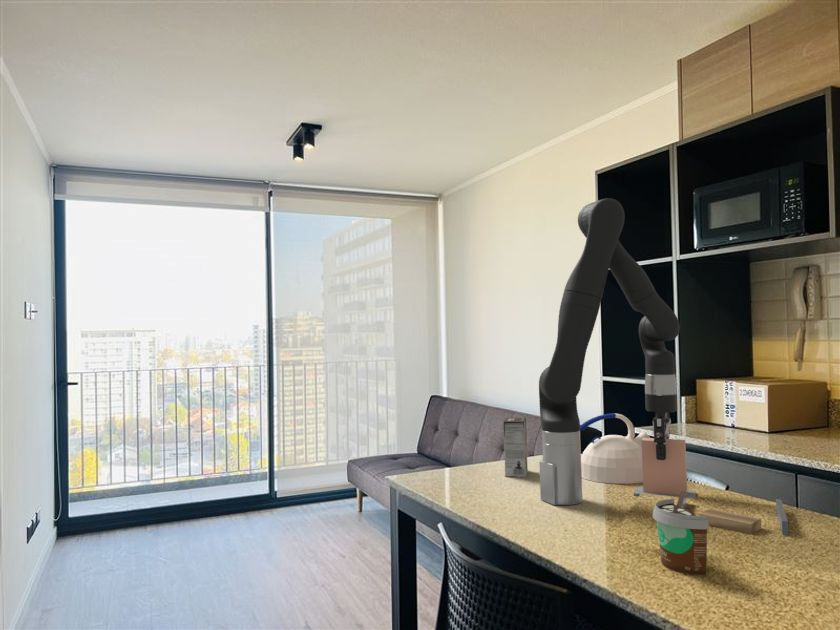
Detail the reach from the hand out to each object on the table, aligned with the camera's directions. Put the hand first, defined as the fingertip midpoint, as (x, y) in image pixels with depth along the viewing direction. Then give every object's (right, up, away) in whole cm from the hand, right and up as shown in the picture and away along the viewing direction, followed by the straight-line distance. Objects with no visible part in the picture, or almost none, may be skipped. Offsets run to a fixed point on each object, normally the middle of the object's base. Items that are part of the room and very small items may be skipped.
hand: (662, 456), depth 157 cm
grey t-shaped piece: (0, -9, -1) cm, 9 cm away
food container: (-17, -8, -49) cm, 52 cm away
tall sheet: (0, -9, -1) cm, 9 cm away
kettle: (-5, -11, +21) cm, 25 cm away
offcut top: (+1, -7, -32) cm, 32 cm away
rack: (+4, -8, -26) cm, 28 cm away
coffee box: (-33, -12, +28) cm, 44 cm away
